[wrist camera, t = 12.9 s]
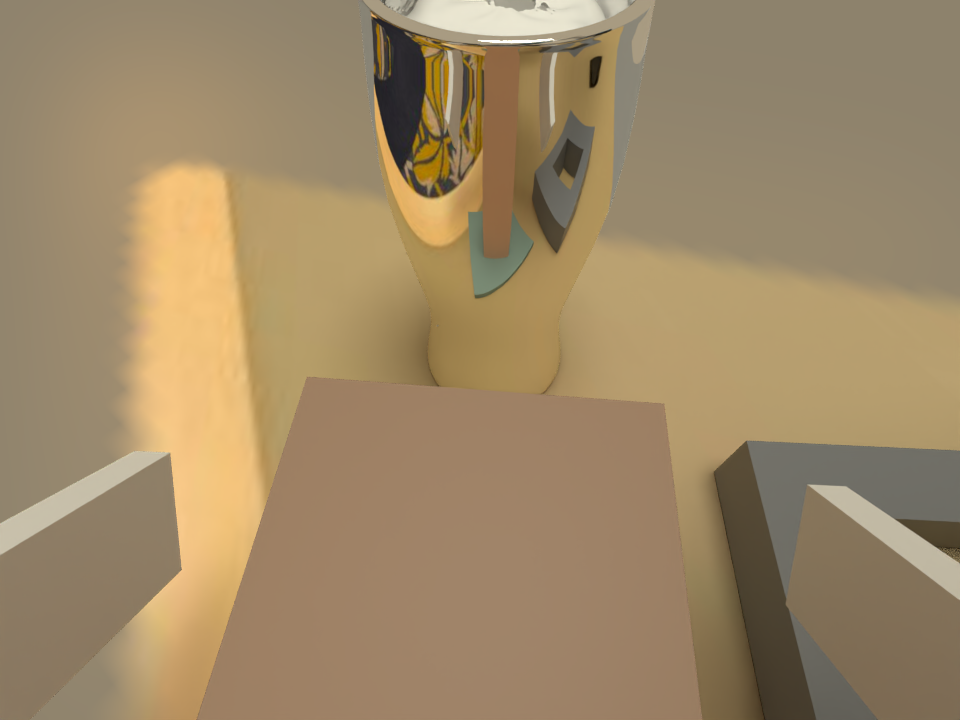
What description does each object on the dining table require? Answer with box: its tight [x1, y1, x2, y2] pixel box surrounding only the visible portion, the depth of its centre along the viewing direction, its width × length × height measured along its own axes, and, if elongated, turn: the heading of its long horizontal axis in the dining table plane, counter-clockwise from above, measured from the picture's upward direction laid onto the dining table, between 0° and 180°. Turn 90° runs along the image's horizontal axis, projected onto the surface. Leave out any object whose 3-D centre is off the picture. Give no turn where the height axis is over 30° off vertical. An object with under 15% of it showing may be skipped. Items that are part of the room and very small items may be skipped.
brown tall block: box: [197, 377, 702, 720], centre depth 10 cm, size 4×5×14 cm
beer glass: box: [358, 0, 655, 394], centre depth 17 cm, size 7×7×15 cm
